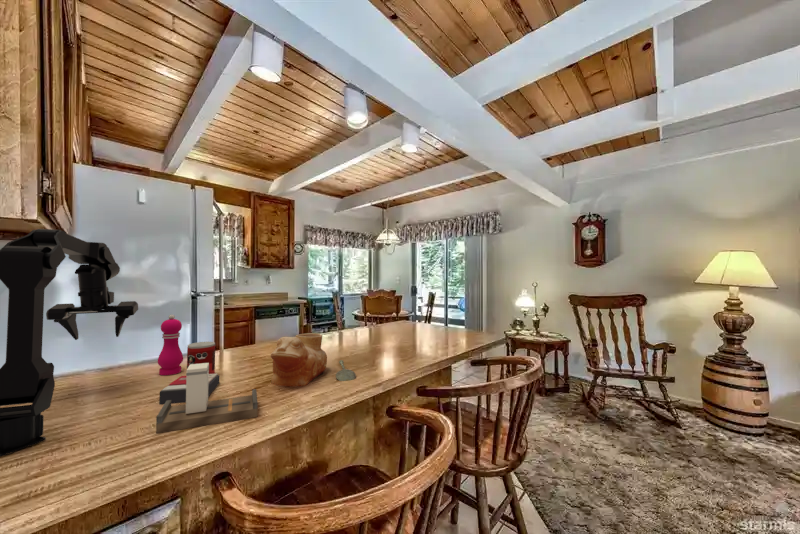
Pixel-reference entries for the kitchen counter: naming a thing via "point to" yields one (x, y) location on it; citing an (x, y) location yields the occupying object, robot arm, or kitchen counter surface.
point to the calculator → (183, 389)
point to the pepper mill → (170, 347)
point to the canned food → (202, 354)
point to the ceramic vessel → (298, 360)
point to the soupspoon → (345, 373)
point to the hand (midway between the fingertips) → (97, 337)
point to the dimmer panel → (206, 413)
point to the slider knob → (197, 387)
